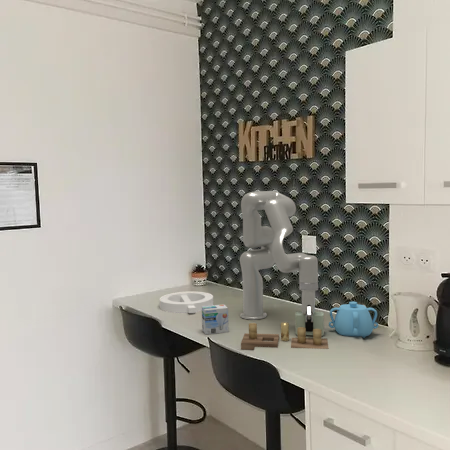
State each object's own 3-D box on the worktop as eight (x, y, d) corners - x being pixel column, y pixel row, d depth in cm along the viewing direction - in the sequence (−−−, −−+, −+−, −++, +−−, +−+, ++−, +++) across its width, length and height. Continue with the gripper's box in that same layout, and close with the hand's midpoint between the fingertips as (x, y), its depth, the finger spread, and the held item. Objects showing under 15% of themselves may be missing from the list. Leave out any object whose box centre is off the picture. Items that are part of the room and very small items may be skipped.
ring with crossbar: (193, 316, 238) (192, 306, 238) (148, 309, 253) (148, 300, 252) (223, 303, 262) (223, 294, 261) (181, 297, 276) (180, 289, 276)
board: (291, 340, 197) (291, 324, 196) (327, 341, 195) (327, 324, 194) (290, 350, 185) (290, 333, 184) (328, 351, 183) (328, 334, 182)
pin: (281, 341, 196) (280, 321, 195) (289, 341, 196) (289, 322, 195) (280, 344, 193) (280, 324, 192) (289, 344, 192) (288, 324, 192)
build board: (244, 339, 200) (244, 320, 199) (279, 340, 198) (278, 320, 197) (241, 349, 188) (240, 329, 187) (277, 350, 186) (277, 329, 185)
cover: (296, 330, 206) (296, 311, 205) (323, 331, 203) (323, 312, 203) (295, 334, 199) (295, 315, 199) (323, 335, 197) (323, 315, 197)
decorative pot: (353, 343, 192) (353, 309, 190) (325, 333, 205) (324, 301, 204) (382, 336, 200) (382, 303, 198) (353, 326, 214) (353, 295, 212)
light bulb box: (205, 334, 207) (204, 309, 206) (201, 330, 214) (200, 306, 213) (229, 332, 210) (228, 307, 209) (225, 327, 217) (224, 303, 216)
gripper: (299, 281, 209) (300, 322, 210) (299, 290, 192) (299, 335, 193) (317, 281, 208) (317, 322, 209) (318, 290, 191) (319, 335, 192)
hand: (309, 328), depth 201 cm, fingers closed on cover, 6 cm apart
